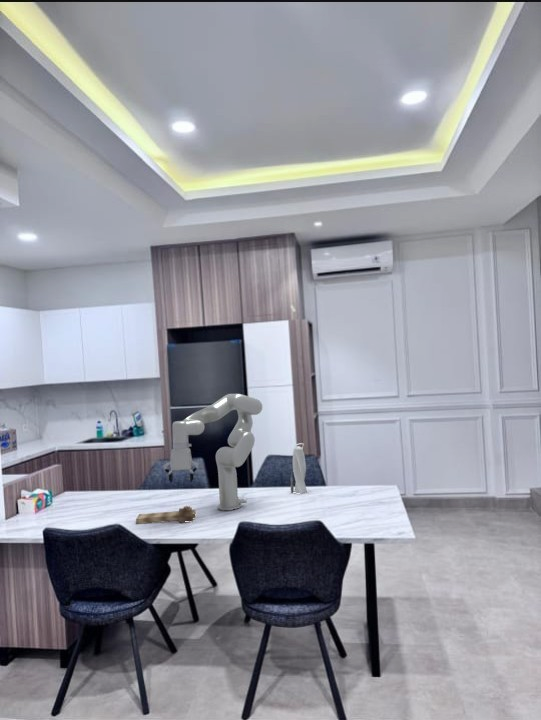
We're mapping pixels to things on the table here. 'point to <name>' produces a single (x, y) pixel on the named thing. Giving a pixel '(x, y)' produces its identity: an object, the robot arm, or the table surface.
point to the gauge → (185, 514)
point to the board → (159, 517)
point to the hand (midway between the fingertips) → (181, 481)
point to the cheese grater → (298, 470)
